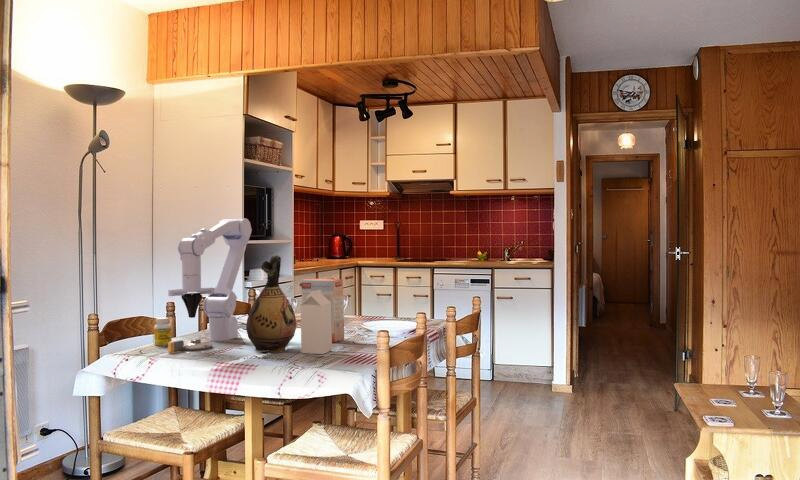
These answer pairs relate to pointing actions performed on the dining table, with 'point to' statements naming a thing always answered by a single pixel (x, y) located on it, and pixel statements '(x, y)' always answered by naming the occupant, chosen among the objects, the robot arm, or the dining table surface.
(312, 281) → the cracker box
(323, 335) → the milk carton
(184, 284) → the robot arm
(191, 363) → the dining table surface
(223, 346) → the board
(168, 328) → the supplement bottle
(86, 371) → the dining table surface
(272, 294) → the ceramic jug
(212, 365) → the dining table surface
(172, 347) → the dial
